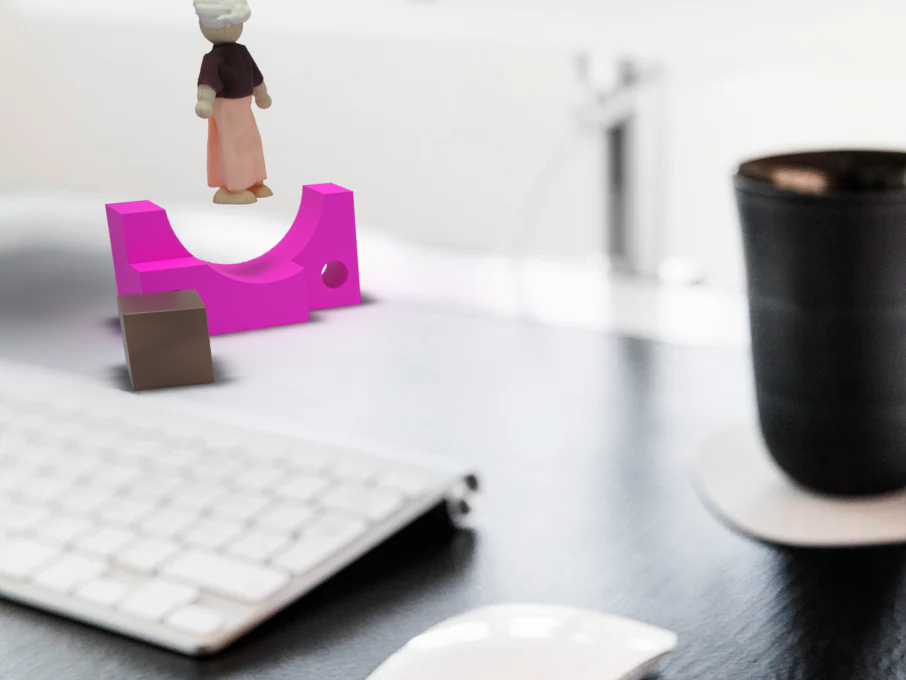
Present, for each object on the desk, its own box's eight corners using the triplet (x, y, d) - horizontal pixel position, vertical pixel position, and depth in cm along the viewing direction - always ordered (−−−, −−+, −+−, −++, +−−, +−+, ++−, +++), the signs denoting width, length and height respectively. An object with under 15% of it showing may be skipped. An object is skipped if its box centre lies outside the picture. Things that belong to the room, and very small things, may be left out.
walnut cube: (134, 392, 78) (122, 314, 76) (127, 370, 82) (116, 295, 80) (215, 384, 80) (206, 307, 78) (204, 363, 83) (196, 288, 81)
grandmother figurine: (230, 188, 93) (208, -23, 87) (287, 189, 93) (268, -22, 87) (187, 210, 86) (160, -17, 80) (248, 212, 86) (225, -16, 80)
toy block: (150, 345, 87) (132, 221, 83) (122, 322, 91) (104, 203, 88) (376, 313, 94) (368, 197, 90) (339, 293, 98) (331, 182, 95)
